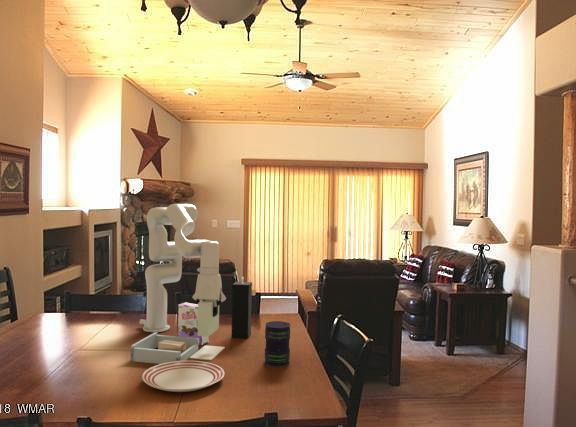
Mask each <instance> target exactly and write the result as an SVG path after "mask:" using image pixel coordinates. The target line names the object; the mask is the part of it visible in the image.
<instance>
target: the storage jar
mask: <svg viewBox="0 0 576 427" xmlns="http://www.w3.org/2000/svg"><path fill="white" fill-rule="evenodd" d="M264 334H265V335H264V337H265V348H264V364H265V365H266V366H269V367H271V368H272V367H273V368H281V367H282V368H283V367H286V366H288V365H289V366H290V357H291V353H290V352H291V349H290V339H291V323H289V322H287V321H282V320H281V321H280V320H279V321H278V320H274V321H268V322H265V330H264Z"/></svg>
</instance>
